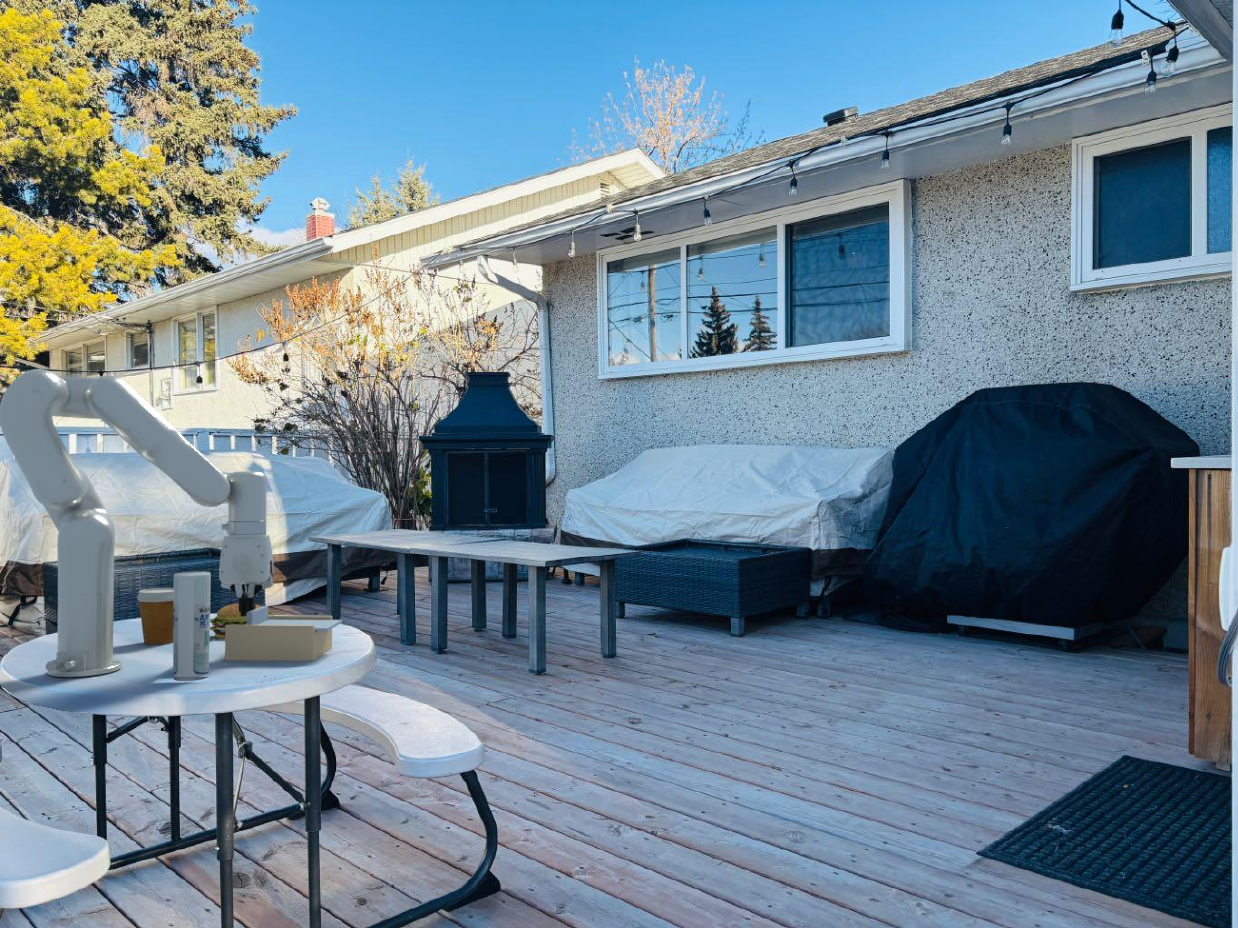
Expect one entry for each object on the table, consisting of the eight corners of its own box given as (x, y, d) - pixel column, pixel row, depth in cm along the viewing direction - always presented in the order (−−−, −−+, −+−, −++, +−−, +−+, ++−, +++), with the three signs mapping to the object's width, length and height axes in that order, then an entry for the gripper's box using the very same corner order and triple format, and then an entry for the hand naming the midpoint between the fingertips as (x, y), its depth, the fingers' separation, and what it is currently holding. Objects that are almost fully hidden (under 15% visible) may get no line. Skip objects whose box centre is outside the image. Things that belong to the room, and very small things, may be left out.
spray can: (180, 673, 179) (181, 571, 179) (214, 673, 179) (216, 571, 179) (166, 681, 172) (167, 575, 172) (201, 681, 173) (203, 575, 173)
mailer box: (312, 664, 188) (313, 625, 188) (224, 664, 188) (225, 625, 188) (331, 652, 201) (332, 615, 201) (249, 651, 201) (249, 615, 201)
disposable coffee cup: (169, 646, 206) (170, 593, 206) (127, 646, 206) (128, 592, 206) (190, 638, 215) (190, 587, 215) (150, 638, 215) (150, 587, 215)
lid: (327, 631, 189) (327, 613, 189) (241, 630, 189) (242, 613, 189) (342, 622, 200) (342, 606, 200) (261, 622, 200) (261, 605, 200)
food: (235, 644, 209) (236, 609, 209) (198, 638, 217) (199, 604, 217) (286, 635, 221) (286, 602, 221) (249, 629, 228) (250, 597, 228)
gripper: (204, 530, 191) (204, 618, 191) (276, 530, 191) (276, 618, 191) (219, 528, 198) (219, 612, 198) (288, 528, 198) (288, 612, 198)
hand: (247, 615), depth 194 cm, fingers closed
